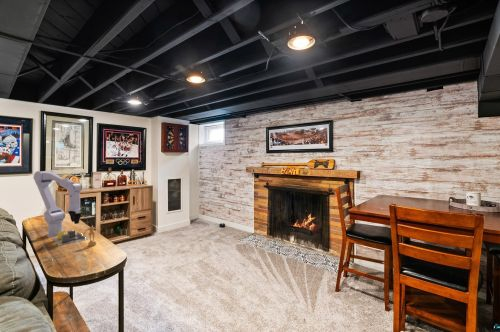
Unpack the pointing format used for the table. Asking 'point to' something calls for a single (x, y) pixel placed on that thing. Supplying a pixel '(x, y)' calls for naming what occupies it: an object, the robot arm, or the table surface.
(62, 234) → the cap
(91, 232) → the figurine
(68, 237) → the block
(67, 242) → the panel
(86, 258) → the table surface
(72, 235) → the breaker
